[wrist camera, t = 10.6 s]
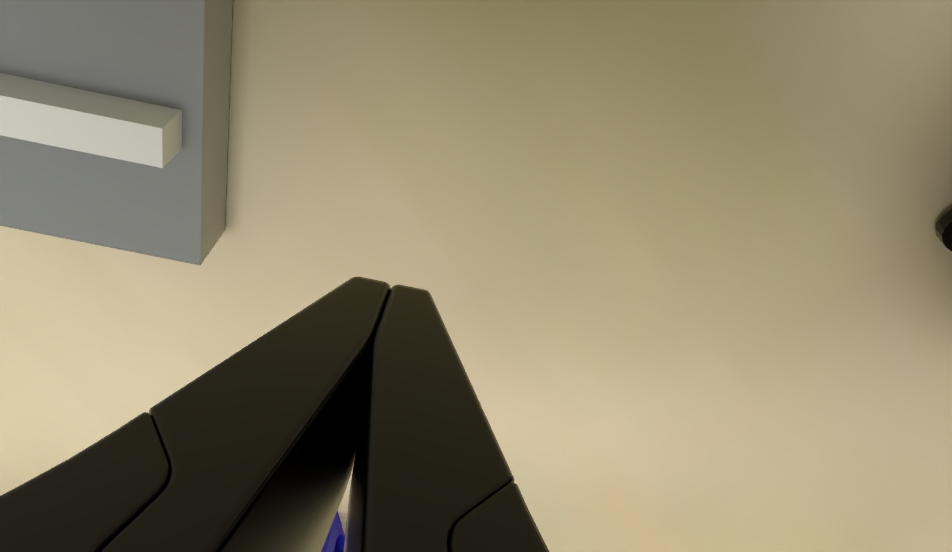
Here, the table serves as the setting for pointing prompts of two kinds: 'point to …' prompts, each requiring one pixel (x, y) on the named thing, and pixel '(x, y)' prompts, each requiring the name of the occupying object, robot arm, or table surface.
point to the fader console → (116, 122)
